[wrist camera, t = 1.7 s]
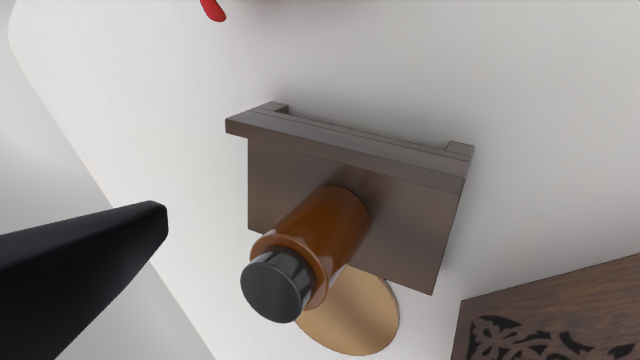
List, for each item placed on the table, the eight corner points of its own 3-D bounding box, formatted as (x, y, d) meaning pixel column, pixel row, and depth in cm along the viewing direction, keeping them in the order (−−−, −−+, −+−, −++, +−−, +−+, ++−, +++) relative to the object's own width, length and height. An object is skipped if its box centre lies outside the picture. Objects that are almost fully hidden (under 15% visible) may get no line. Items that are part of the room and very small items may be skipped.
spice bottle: (364, 257, 21) (309, 348, 16) (302, 235, 23) (230, 311, 17) (375, 195, 20) (317, 272, 14) (307, 176, 21) (228, 238, 15)
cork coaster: (387, 370, 28) (385, 375, 27) (280, 322, 31) (278, 325, 30) (411, 274, 23) (409, 278, 23) (285, 230, 27) (283, 233, 26)
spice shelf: (439, 270, 23) (424, 321, 19) (267, 212, 27) (228, 244, 23) (474, 145, 19) (465, 178, 15) (271, 101, 23) (224, 118, 19)
